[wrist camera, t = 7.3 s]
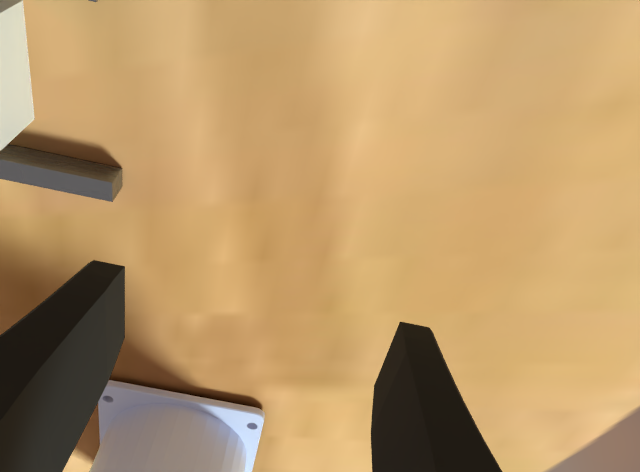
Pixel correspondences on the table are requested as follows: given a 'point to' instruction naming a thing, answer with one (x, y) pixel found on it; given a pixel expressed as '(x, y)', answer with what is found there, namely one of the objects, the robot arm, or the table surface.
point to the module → (14, 72)
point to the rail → (60, 172)
